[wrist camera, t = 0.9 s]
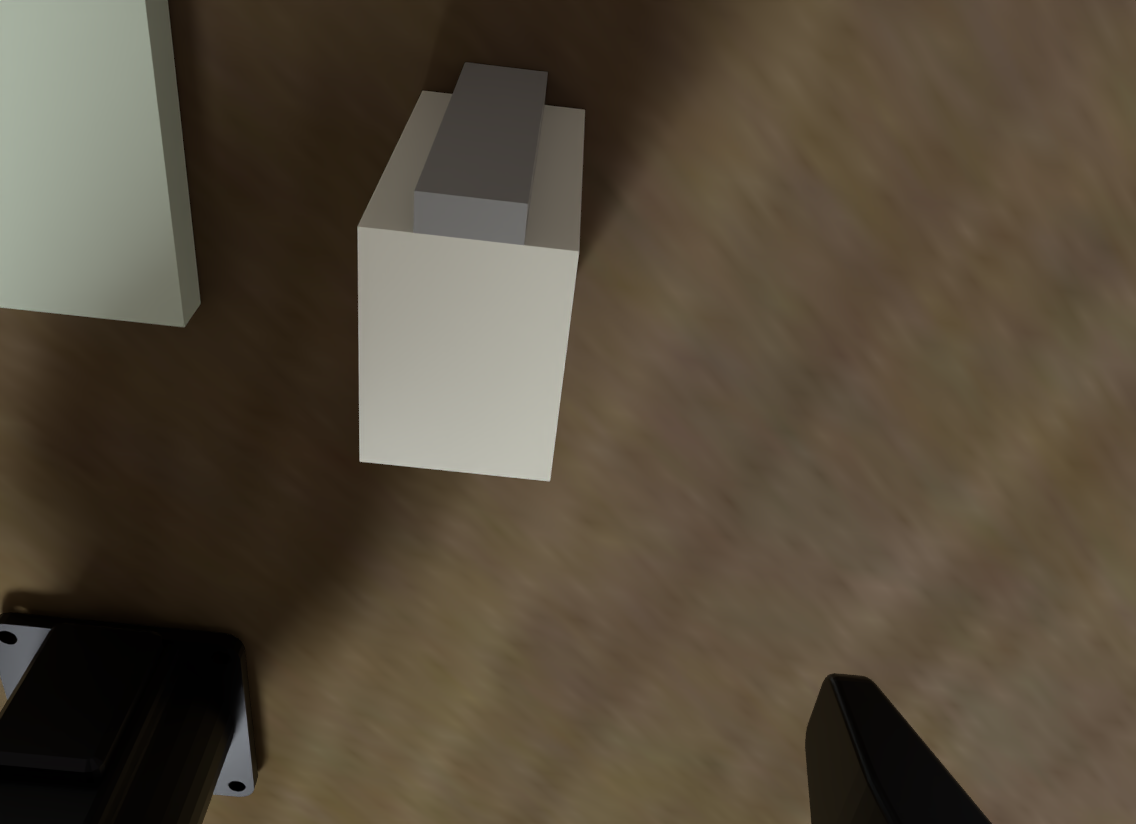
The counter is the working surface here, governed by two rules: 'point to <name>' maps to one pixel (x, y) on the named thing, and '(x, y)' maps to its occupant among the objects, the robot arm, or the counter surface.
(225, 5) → the counter surface
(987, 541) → the counter surface
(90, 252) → the board
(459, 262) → the plug
